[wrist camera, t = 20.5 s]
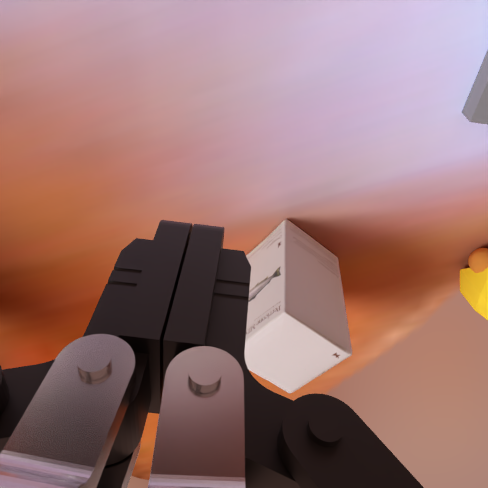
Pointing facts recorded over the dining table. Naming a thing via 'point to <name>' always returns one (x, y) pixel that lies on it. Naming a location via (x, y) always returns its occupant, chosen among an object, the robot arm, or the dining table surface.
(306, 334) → the supplement box
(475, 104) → the press
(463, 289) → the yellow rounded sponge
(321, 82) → the dining table surface
